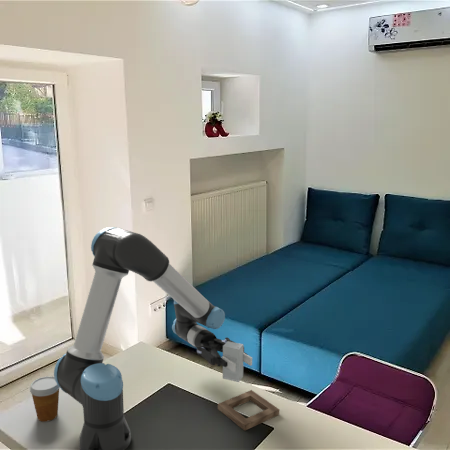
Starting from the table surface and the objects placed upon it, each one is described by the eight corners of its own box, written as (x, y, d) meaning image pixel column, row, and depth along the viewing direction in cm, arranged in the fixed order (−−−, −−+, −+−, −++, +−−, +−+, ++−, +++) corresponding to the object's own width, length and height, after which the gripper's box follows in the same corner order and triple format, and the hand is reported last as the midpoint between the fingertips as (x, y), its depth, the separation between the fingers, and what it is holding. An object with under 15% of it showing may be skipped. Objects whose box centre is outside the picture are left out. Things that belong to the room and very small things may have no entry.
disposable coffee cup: (30, 426, 156) (27, 392, 154) (33, 410, 165) (30, 377, 163) (62, 422, 159) (59, 388, 156) (63, 405, 168) (61, 373, 165)
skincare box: (243, 376, 167) (244, 344, 164) (238, 382, 163) (239, 349, 160) (226, 372, 169) (227, 340, 166) (221, 378, 165) (222, 345, 162)
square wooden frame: (244, 430, 155) (244, 425, 154) (217, 409, 166) (217, 403, 166) (279, 414, 163) (279, 409, 163) (251, 395, 175) (251, 390, 174)
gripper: (223, 341, 185) (264, 366, 167) (179, 356, 173) (219, 384, 155) (223, 322, 183) (265, 346, 165) (179, 336, 171) (219, 363, 154)
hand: (243, 364), depth 160 cm, fingers closed on skincare box, 6 cm apart
